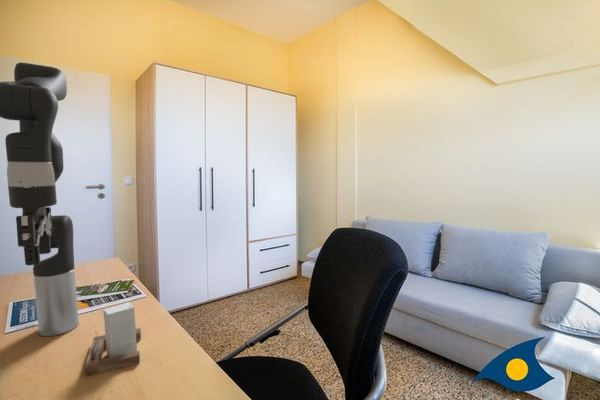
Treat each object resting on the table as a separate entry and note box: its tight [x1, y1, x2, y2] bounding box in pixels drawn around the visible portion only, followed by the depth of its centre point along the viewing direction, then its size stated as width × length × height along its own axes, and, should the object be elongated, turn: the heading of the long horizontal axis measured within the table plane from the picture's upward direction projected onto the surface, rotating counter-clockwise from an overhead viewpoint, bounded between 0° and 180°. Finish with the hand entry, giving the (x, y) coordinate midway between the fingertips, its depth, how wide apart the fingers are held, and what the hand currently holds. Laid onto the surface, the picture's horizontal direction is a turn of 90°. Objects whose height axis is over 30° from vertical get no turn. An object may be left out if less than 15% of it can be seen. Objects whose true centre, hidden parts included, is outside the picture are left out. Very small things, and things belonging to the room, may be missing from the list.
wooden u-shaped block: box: [83, 327, 142, 377], centre depth 78 cm, size 14×11×3 cm
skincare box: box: [102, 302, 138, 358], centre depth 78 cm, size 6×4×12 cm
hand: (39, 258), depth 66 cm, fingers open, 8 cm apart
